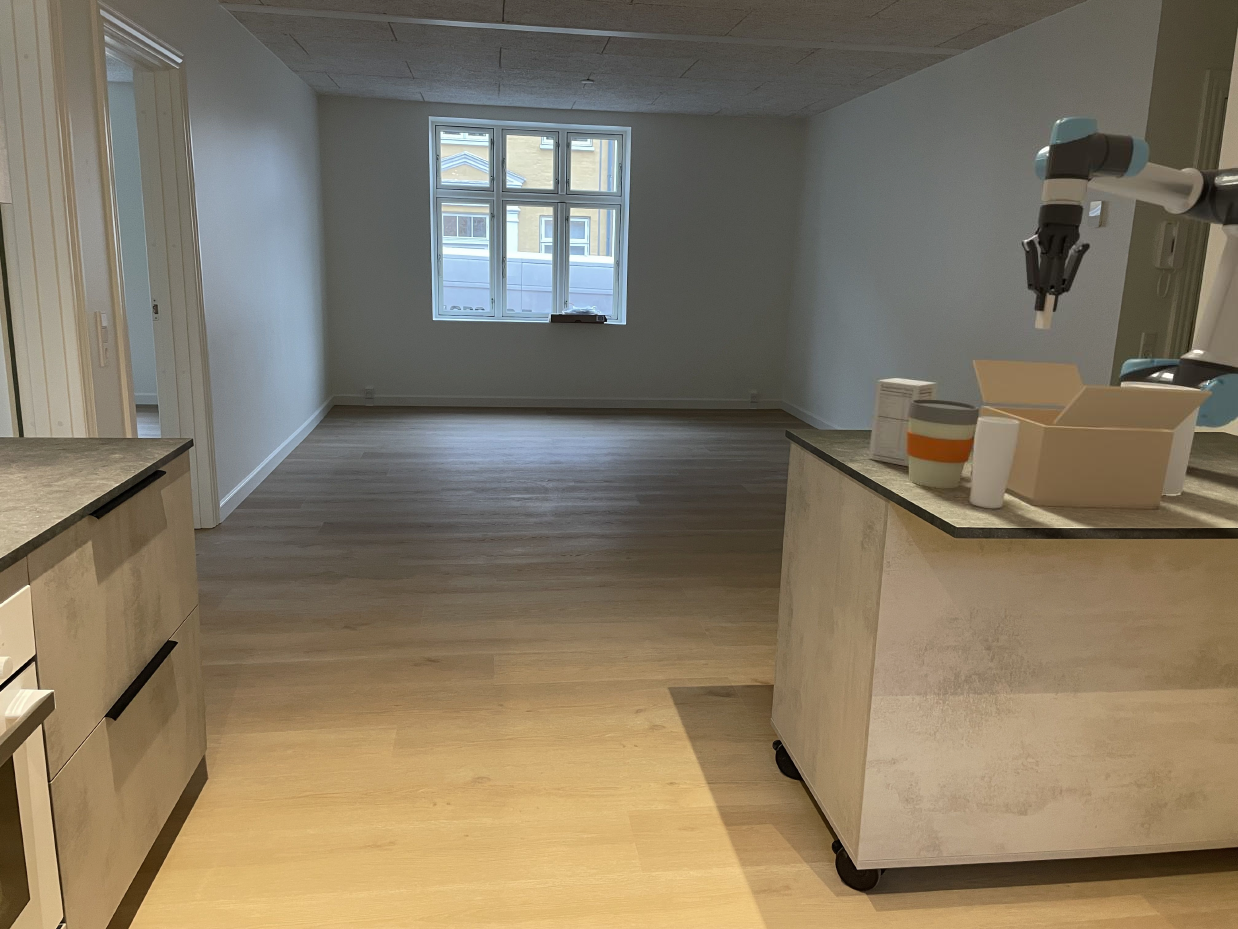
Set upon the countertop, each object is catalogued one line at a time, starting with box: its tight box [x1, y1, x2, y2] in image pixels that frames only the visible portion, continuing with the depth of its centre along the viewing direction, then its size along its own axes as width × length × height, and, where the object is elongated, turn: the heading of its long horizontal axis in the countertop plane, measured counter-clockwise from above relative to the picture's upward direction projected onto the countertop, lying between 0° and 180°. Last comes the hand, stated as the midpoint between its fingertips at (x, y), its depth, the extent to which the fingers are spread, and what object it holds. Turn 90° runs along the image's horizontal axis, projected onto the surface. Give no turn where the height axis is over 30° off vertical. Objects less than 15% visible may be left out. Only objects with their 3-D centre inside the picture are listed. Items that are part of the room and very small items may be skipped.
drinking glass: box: [969, 416, 1020, 510], centre depth 151 cm, size 7×7×15 cm
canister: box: [1121, 382, 1200, 495], centre depth 173 cm, size 14×14×20 cm
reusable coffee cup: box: [907, 399, 980, 489], centre depth 166 cm, size 13×13×15 cm
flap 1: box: [972, 358, 1085, 407], centre depth 177 cm, size 22×10×1 cm
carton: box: [970, 405, 1174, 510], centre depth 165 cm, size 24×22×14 cm
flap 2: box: [1053, 384, 1212, 430], centre depth 148 cm, size 22×10×1 cm
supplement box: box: [868, 377, 938, 467], centre depth 185 cm, size 10×9×17 cm
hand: (1042, 328), depth 174 cm, fingers closed
